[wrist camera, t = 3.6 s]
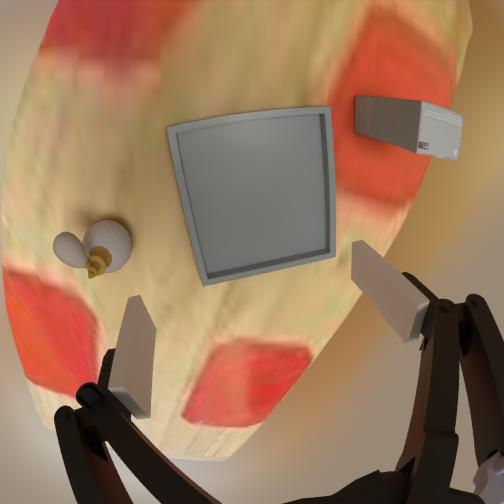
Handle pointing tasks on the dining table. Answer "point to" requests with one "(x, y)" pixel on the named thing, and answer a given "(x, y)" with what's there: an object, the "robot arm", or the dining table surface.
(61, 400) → the dining table surface
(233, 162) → the tray
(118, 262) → the perfume bottle
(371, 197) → the dining table surface
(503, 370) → the robot arm
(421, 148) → the skincare box
